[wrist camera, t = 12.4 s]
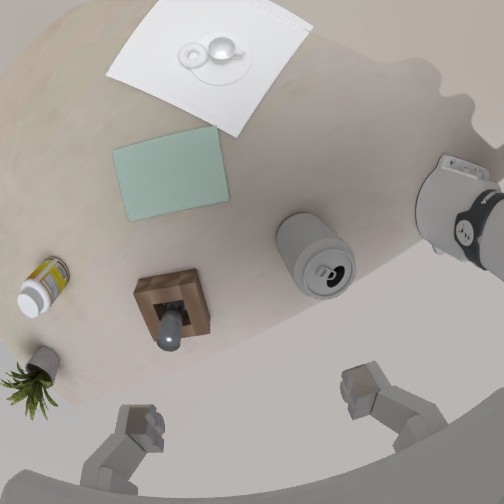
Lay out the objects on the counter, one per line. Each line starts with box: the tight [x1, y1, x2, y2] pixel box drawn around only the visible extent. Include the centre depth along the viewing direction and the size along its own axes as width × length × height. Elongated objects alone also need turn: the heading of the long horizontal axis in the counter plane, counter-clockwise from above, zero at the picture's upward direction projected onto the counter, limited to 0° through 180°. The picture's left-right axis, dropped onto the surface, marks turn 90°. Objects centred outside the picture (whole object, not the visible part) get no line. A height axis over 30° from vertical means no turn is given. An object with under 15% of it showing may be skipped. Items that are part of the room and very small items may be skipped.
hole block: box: [133, 269, 210, 341], centre depth 40 cm, size 9×9×4 cm
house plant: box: [0, 346, 59, 420], centre depth 36 cm, size 14×14×16 cm
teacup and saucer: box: [177, 30, 254, 86], centre depth 26 cm, size 9×8×4 cm
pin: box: [157, 300, 185, 351], centre depth 37 cm, size 3×3×10 cm
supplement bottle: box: [18, 257, 69, 318], centre depth 32 cm, size 6×6×10 cm
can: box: [276, 213, 356, 300], centre depth 34 cm, size 8×8×12 cm
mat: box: [112, 125, 230, 222], centre depth 34 cm, size 14×10×1 cm
